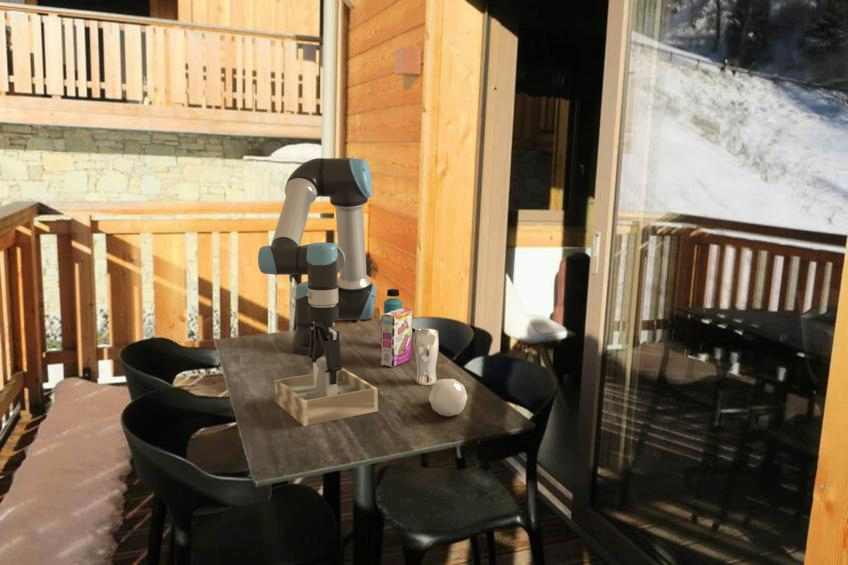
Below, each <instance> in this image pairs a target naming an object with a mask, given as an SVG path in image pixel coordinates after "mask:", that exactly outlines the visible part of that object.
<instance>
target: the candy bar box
mask: <svg viewBox="0 0 848 565" xmlns="http://www.w3.org/2000/svg"><path fill="white" fill-rule="evenodd" d="M380 316H381V317H380V318H381V319H380V321H381V322H380V325H381V328H380V329H381V330H380V343H381V344H380V366H382V367H387V368H391V369H394V368H396V367H398V366H400V365H402V364H405V363H406V362H407V363H408V361H411V360H412V355H413V354H412V346H413V343H412V342H413V341H412V340H413V339H412V338H413V335H412V334H413V310H412V309H407V308H402V309H397V310H394V311H391V312H388V313H385V314H384V313H382V314H380Z"/></svg>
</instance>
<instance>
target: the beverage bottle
mask: <svg viewBox="0 0 848 565" xmlns="http://www.w3.org/2000/svg"><path fill="white" fill-rule="evenodd" d="M386 296H387V297H390V298H387V299H385V300H384V302H383V314H385V313H388V312H391V311H394V310H397V309H403V301H401V299H400V298H397V297H400V290H399V289H398V288H388V289H387V293H386ZM392 297H393V298H392Z"/></svg>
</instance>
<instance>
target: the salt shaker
mask: <svg viewBox="0 0 848 565" xmlns="http://www.w3.org/2000/svg"><path fill="white" fill-rule="evenodd" d="M316 365H317V367H318V368H319V369H318V375H317V382H316V388H315V394H314V399H316V398H321V397H327V396H326V372H325V371H326V370H328V369H327V364H326V358H325V356H323V357H320V358H318V359H317V360H316Z"/></svg>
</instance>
